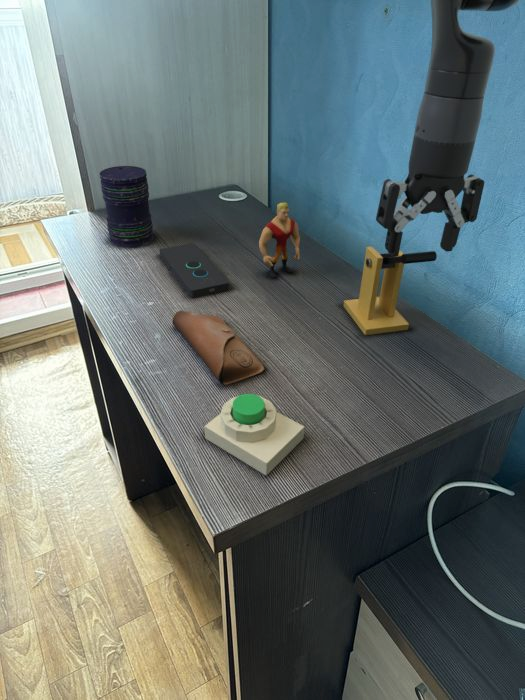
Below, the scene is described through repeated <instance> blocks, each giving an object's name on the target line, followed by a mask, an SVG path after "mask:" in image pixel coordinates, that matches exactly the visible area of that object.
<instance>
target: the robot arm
mask: <svg viewBox="0 0 525 700" xmlns="http://www.w3.org/2000/svg"><path fill="white" fill-rule="evenodd" d="M520 1H521V0H430V10H431V49H430V59H429V63H428V69H427V74H426V81H425V85H424V92H423V95H422V99H421V102H420V105H419V108H418V111H417V117H416V122H415V125H414V133H413V139H412V144H411V150H410V155H409V160H408V174H407V177H406V178H405V180H404V181H394V180H392V179H390V178H387V179H385V180H384V181H383V183H382V189H381V193H380V198H379V201H378V207H377V212H376V215H375V216H376V217H375V221H376V222H377V223H378V224H379V226H381V227H382V228H383V229H385V230H386V236H385V242H384V248H385V250H386V251H387V252H388V253H389V254H390V255H391V256H398V255H399V250H400V249H401V244H402V239H403V233H404V232H403V230H404V229H405V227H406V226H407V225H408V224H409V223H410V222H412V221H414V220H415V219H416V218H417V217H418V216H419V215H420V214H421V215H427V214H430V213H435V214H442V213H444V214H445V216H446V219H447V220H448V222H444V227H443V230H442V234H441V239H440V243H439V244H440V248H441V249H442V250H443V251H444V252H446V253H448V252H453V249H454V248H455V247H456V246H457V242H458V238H459V235H460V231H461V228H462V227H463V226H464V225H465V224H466V223H474V222H476V220H477V218H478V214H479V211H480V205H481V201H482V196H483V191H484V187H485V180H484V179H482V178H481V177H479V176H477V175H475V174H472V173H471V174H469V175H467V177H465V175H466V174H467V173H468V171H469V168H470V164H471V160H472V156H473V152H474V147H475V144H476V141H477V136H478V131H479V129H480V128H479V127H480V124H481V119H482V115H483V106H484V105H483V104H484V99H485V95H486V91H487V87H488V82H489V78H490V75H491V71H492V67H493V63H494V59H495V53H496V52H495V51H496V48H495V44H494V42H493V41H492V40H490V39H488V38H486V37H483V36H480V35H476V34H472V33H469V32H466V31H465V30H463V28H462V27H461V24H460V21H459V11H465V12H466V11H467V12H471V11H472V12H502V11H506V10H508V9H510V8H513V7H514V6H515V5H517V4H518V3H519V2H520ZM461 192H463V194H462V200H461V204H460V205H459V203H458V201H457V199H456V198H457V197H458V196H459V195H460V194H461ZM403 193H404V194H405V196H404V197H403V198H402V194H403ZM401 198H402V200H400V199H401ZM398 200H400V202H399V203H398ZM397 203H398V204H397ZM409 207H411V208H410V209H409ZM400 251H401V250H400Z"/></svg>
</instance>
